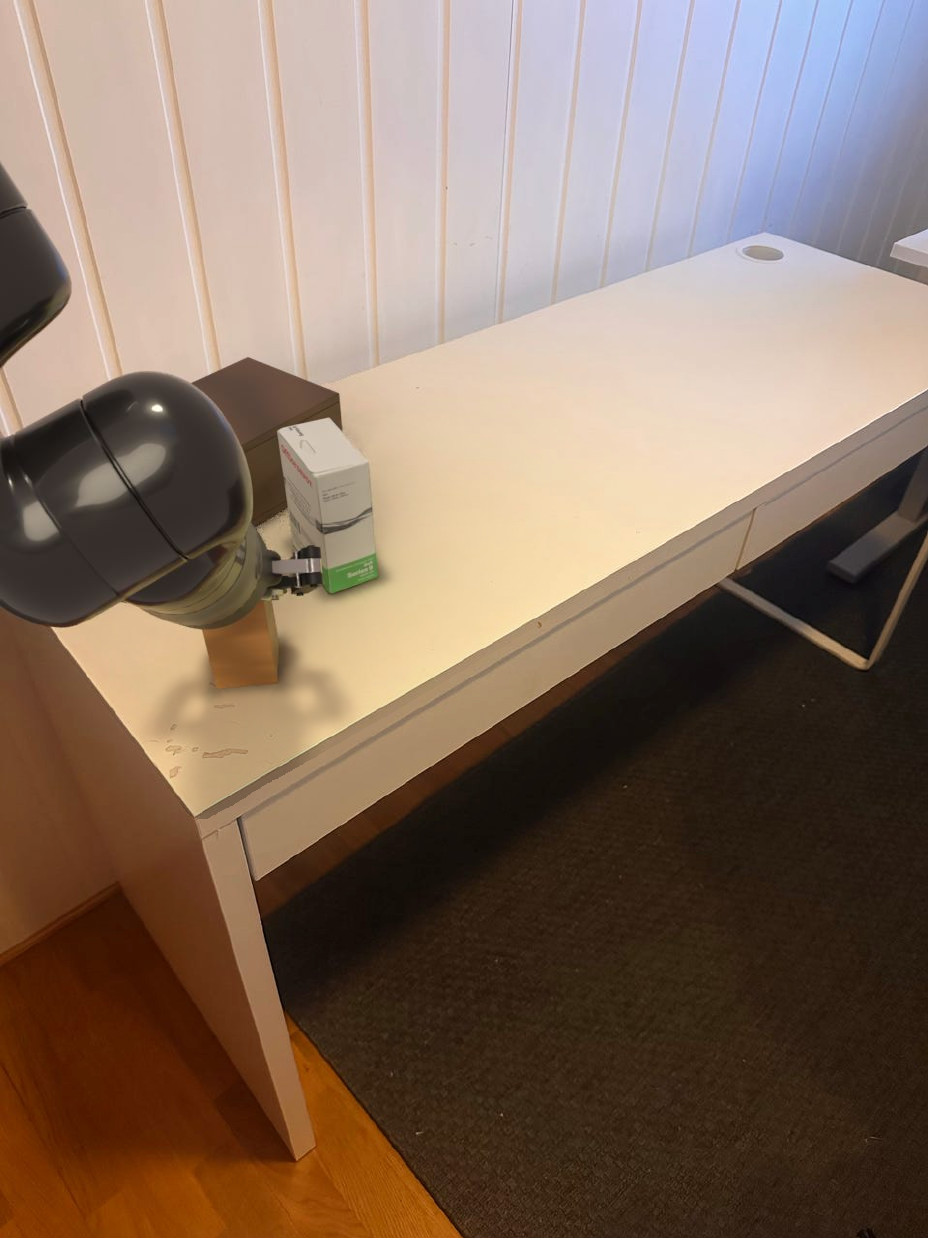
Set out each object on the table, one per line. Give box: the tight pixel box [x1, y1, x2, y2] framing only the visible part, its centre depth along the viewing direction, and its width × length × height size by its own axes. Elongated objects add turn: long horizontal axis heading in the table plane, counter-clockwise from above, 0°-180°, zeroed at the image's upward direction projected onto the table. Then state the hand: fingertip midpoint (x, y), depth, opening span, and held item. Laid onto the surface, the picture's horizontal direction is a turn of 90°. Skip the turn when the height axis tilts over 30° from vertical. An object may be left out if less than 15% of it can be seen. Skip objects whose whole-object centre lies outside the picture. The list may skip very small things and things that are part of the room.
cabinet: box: [190, 356, 344, 528], centre depth 86 cm, size 15×13×9 cm
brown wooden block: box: [201, 600, 280, 690], centre depth 66 cm, size 5×5×10 cm
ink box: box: [277, 418, 379, 594], centre depth 75 cm, size 9×5×12 cm, turn 30°
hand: (237, 588), depth 66 cm, fingers closed on brown wooden block, 4 cm apart
